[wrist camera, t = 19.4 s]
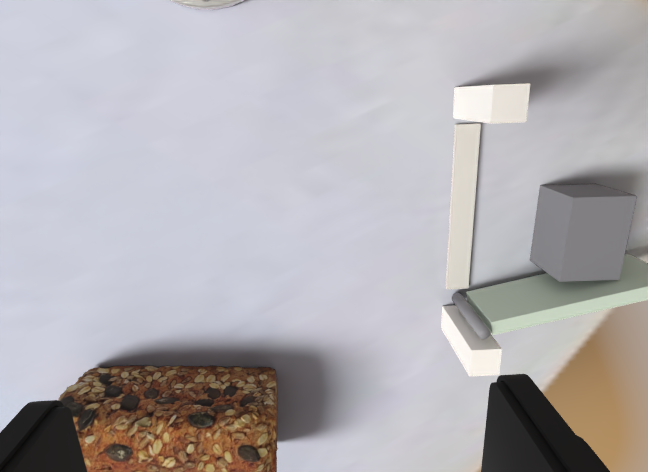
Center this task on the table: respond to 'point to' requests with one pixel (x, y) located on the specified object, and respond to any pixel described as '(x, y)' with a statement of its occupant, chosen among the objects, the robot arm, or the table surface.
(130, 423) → the bread
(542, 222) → the block
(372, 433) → the table surface
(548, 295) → the door
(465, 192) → the door frame
